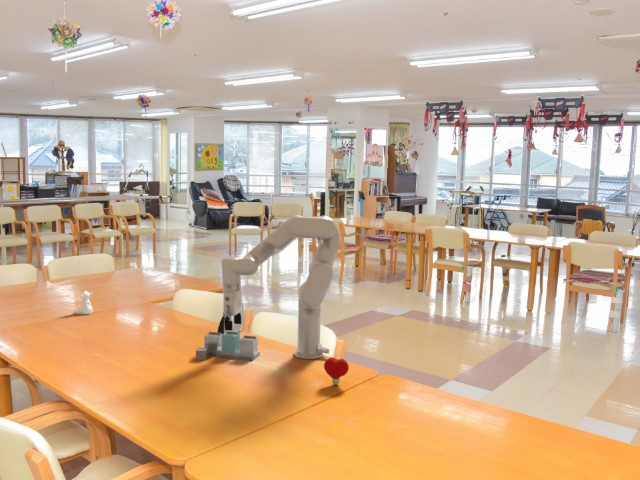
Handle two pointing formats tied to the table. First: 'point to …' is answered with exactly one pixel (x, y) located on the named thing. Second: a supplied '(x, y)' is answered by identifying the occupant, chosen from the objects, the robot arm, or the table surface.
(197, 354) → the block
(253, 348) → the board
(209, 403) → the table surface
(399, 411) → the table surface
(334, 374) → the light bulb
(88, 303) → the white creature statuette
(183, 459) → the table surface
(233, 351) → the module
